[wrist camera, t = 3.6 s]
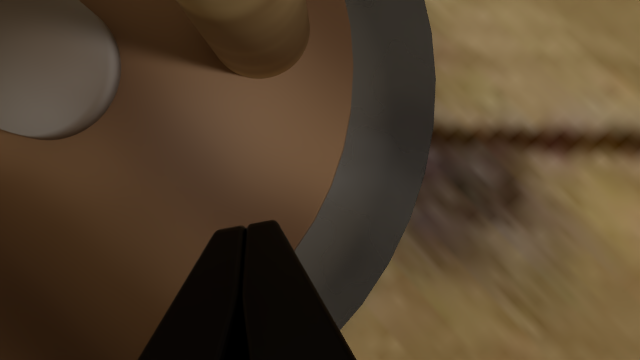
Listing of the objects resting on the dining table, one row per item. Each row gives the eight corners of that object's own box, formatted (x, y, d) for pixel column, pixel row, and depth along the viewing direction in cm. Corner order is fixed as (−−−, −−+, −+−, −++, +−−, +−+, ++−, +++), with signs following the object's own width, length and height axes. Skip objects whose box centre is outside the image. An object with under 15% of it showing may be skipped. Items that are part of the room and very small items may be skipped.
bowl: (203, 591, 17) (137, 762, 11) (-380, 217, 19) (-676, 212, 13) (561, -47, 18) (653, -164, 13) (-20, -345, 20) (-157, -562, 14)
